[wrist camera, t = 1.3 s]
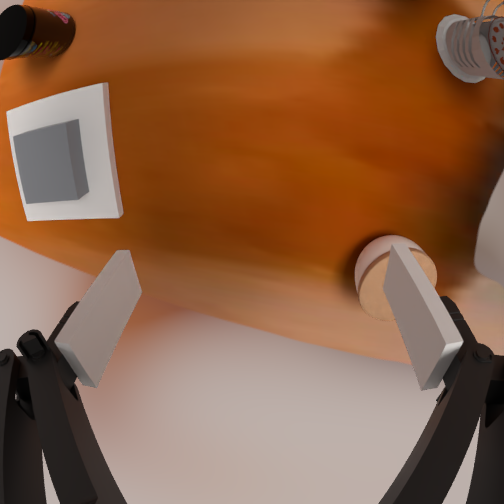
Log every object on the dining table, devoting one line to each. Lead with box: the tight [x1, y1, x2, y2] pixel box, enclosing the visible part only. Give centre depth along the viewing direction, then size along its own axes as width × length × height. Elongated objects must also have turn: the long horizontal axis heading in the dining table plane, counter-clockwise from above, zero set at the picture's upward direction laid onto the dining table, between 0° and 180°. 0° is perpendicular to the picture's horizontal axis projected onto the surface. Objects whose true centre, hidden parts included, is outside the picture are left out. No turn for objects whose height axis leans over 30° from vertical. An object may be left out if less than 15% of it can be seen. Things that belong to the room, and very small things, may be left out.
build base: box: [7, 82, 124, 221], centre depth 34 cm, size 18×18×4 cm
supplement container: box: [0, 5, 75, 60], centre depth 22 cm, size 7×7×10 cm
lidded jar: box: [355, 235, 437, 321], centre depth 37 cm, size 11×11×9 cm
